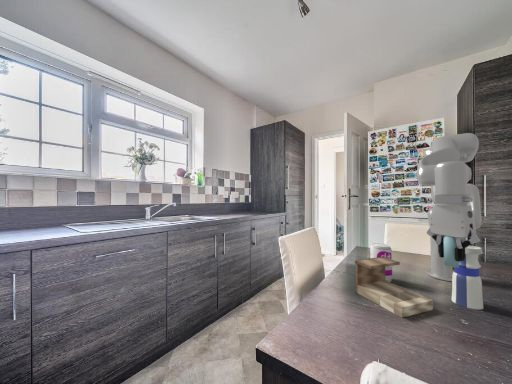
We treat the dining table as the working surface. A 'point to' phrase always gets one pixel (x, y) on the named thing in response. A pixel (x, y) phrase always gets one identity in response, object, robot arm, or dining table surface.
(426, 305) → the socket block
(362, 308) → the dining table surface
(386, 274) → the supplement can
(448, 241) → the peg
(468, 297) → the water bottle
